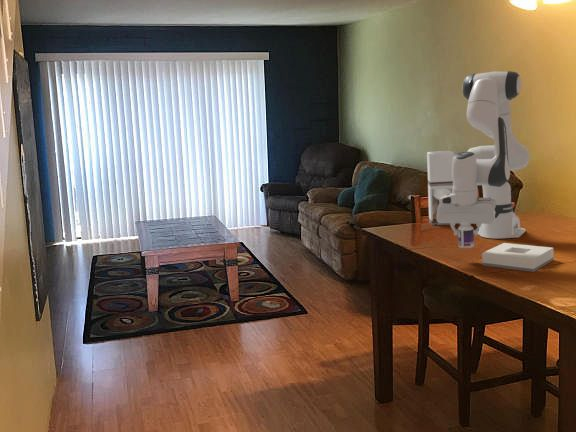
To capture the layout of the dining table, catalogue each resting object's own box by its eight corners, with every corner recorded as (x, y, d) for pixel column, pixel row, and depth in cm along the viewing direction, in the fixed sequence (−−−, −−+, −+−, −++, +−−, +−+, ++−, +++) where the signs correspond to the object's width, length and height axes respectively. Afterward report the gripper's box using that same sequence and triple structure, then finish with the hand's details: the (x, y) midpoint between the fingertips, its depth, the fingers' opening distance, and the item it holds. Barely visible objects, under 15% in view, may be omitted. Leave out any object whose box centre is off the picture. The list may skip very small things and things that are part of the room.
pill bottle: (476, 245, 212) (475, 219, 210) (469, 249, 208) (469, 222, 207) (462, 244, 216) (461, 218, 214) (455, 247, 212) (455, 221, 210)
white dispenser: (431, 225, 283) (429, 153, 278) (429, 221, 294) (426, 152, 288) (455, 224, 282) (453, 152, 276) (452, 220, 292) (450, 150, 287)
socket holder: (503, 254, 219) (503, 242, 218) (553, 260, 206) (553, 247, 206) (482, 265, 206) (482, 253, 205) (533, 271, 194) (533, 258, 193)
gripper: (496, 195, 207) (496, 233, 210) (438, 196, 216) (439, 232, 218) (494, 199, 202) (495, 237, 204) (435, 199, 210) (436, 236, 213)
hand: (465, 235), depth 211 cm, fingers closed on pill bottle, 5 cm apart
